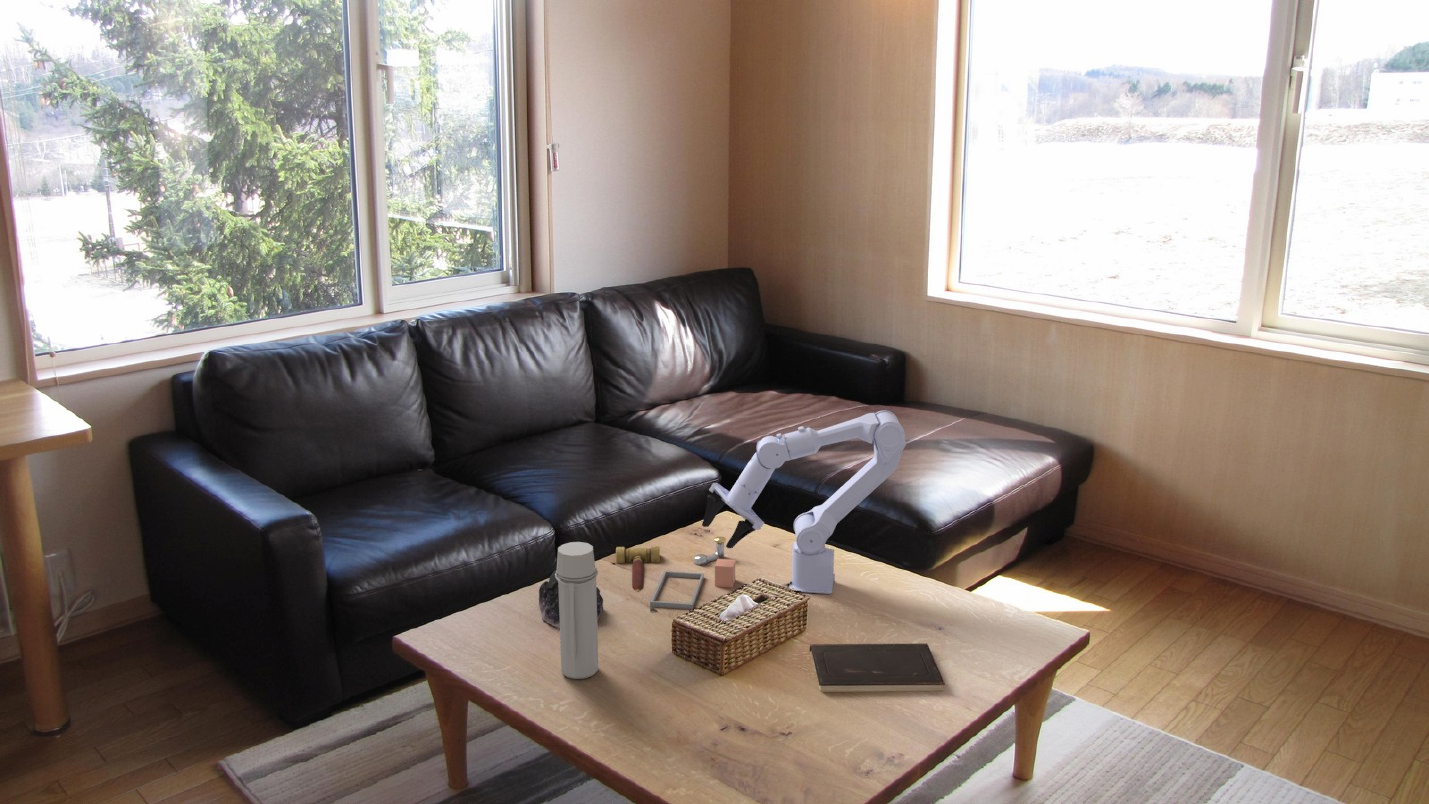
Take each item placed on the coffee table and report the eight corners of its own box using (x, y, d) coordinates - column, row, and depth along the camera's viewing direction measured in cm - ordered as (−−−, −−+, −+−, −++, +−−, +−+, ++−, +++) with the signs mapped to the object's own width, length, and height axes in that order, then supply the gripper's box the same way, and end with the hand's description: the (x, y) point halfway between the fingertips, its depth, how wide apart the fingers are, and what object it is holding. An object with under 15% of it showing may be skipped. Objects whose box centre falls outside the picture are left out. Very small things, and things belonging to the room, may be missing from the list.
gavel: (660, 586, 242) (614, 587, 241) (661, 605, 243) (614, 606, 243) (659, 542, 261) (616, 543, 261) (659, 560, 263) (616, 561, 262)
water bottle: (564, 661, 216) (559, 539, 209) (604, 663, 215) (601, 541, 208) (552, 685, 207) (547, 559, 200) (594, 687, 206) (590, 561, 199)
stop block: (735, 584, 250) (735, 559, 248) (732, 592, 246) (733, 567, 244) (717, 583, 250) (717, 558, 248) (714, 591, 246) (714, 566, 245)
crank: (699, 566, 256) (699, 547, 255) (691, 562, 258) (691, 543, 257) (728, 557, 261) (728, 539, 260) (720, 553, 263) (720, 535, 262)
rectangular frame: (704, 582, 250) (704, 573, 250) (692, 614, 235) (692, 604, 235) (664, 580, 252) (664, 570, 251) (650, 611, 236) (650, 601, 236)
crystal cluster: (605, 631, 229) (608, 585, 227) (538, 631, 227) (540, 584, 225) (600, 608, 242) (603, 563, 240) (537, 606, 240) (539, 562, 238)
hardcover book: (944, 694, 206) (944, 683, 205) (818, 695, 205) (819, 684, 204) (926, 652, 221) (926, 641, 220) (809, 653, 220) (809, 642, 220)
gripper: (716, 466, 243) (684, 516, 246) (764, 506, 236) (730, 557, 239) (732, 467, 249) (701, 516, 252) (779, 506, 242) (747, 556, 245)
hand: (716, 536), depth 246 cm, fingers open, 7 cm apart
